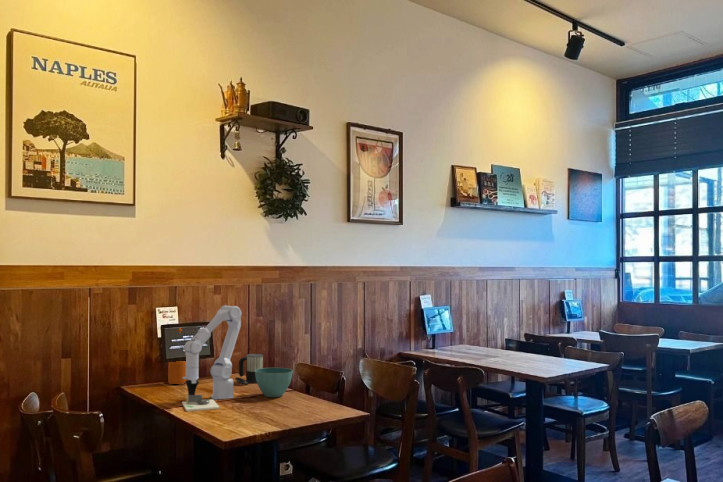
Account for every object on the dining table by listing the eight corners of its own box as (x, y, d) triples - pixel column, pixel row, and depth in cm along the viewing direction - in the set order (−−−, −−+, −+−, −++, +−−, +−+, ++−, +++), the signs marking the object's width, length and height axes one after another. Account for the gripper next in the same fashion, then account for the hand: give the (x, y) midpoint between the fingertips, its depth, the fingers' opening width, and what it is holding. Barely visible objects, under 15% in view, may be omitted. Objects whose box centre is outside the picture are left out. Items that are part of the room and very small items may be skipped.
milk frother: (264, 380, 334) (264, 353, 335) (260, 385, 318) (261, 357, 319) (238, 380, 333) (238, 353, 334) (233, 385, 317) (234, 357, 318)
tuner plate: (213, 401, 279) (213, 399, 279) (219, 408, 264) (219, 406, 264) (181, 403, 274) (181, 401, 274) (186, 411, 258) (186, 409, 258)
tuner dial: (210, 401, 272) (211, 394, 272) (206, 404, 267) (207, 396, 267) (188, 401, 273) (188, 393, 273) (183, 403, 268) (183, 395, 269)
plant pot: (281, 390, 305) (282, 366, 306) (298, 396, 290) (299, 371, 291) (248, 394, 295) (249, 369, 296) (264, 401, 280) (265, 374, 281)
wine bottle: (190, 383, 324) (192, 327, 325) (176, 386, 315) (178, 328, 317) (178, 381, 329) (179, 326, 330) (163, 384, 320) (165, 327, 322)
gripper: (181, 365, 281) (180, 394, 281) (185, 369, 268) (184, 400, 267) (196, 364, 284) (196, 393, 283) (201, 368, 271) (200, 399, 270)
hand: (191, 396), depth 275 cm, fingers closed
